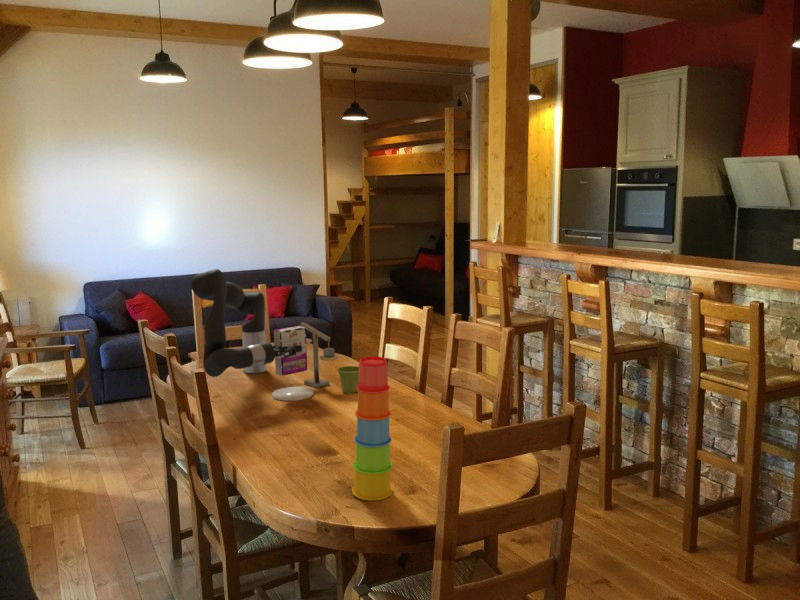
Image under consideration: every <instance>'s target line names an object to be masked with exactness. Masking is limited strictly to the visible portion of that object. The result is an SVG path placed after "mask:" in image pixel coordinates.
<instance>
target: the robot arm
mask: <svg viewBox="0 0 800 600" xmlns="http://www.w3.org/2000/svg"><path fill="white" fill-rule="evenodd" d="M190 286H191V289H192V291H193V293H194V295H195V296H196V297H197V298H199V299H200V300H204V301H212V302H213V304H212V306H211V308H210V310H209V312H208V315H207V317H206V319H205V321H204V327H203V333H204V344H205V345H204V350H203V359H202V363H203V364H202V365H203V369H204V371H205V373H206V374H207V375H208V376H209V377H213V378H217V377H219V376H221V375H222V374H223V373H224V372H225V371H226V370H227V369H228V368H231V367H232V368H233V369H234V370H235V369H237V370H241V369H242V371H243V372H244V373H246V374H261V373H264V372H266V371H267V365H268V364H271V363H272V362H274V361H275V357H276V358H278V357H281V356H284V358H286V357H290V356H293V355H296V352H301V351H302V346H301V345H298V346H292V347H287V346H283V347H280V346H276V345H274V343H270V342H267V341H266V332H265V330H266V329H265V325H266V324H265V321H266V317H265V316H266V312H265V311H266V306H265V305H266V304H265V303H266V301H265V295H264V294H263V293H262V292H257V291H252V292H250V291H247V292H244V289H243V288H242V287H241V286H239V285H238V284H236V283H234V282H230V281H227V280H226V277H225V275H224V273H223V272H222V271H221V270H220V269H217V268H214V269H211V270H207V271H205V272H201V273H199V274H195V275H194V276H193V277H192V279H191V283H190ZM226 307H227V308H231V309H234V310H235V311H237V313H239V314H242V315H246V316H247V315H248V316H249V315H253V319H252V320H250V321H248V322H247V321H246V322H244V323H243V324H242V325H241V335H242V336H241V338H242V347H239V348H231V347H230V348H227V347H226V345H227V335H226V322H225V319H226V317H225V316H226V314H225V313H226ZM284 348H285V350H284Z"/></svg>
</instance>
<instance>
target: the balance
mask: <svg viewBox="0 0 800 600" xmlns="http://www.w3.org/2000/svg"><path fill="white" fill-rule="evenodd" d="M299 326H301V327H305V328H306V330H307V331H308V332H310V333H312V339H311V338H306V344H310V343H312V354H313V355H312V357H313V378H309V379H306V380H304V381H303V383H304V386H305V385H306V386H310V387H312V388H316V389H318V388H319V389H320V388H322V387H323V388H324V387H326V386H330V380H327V379H323V378H320V364H319V363H320V360H322V361H335V360H338V359H339V355H337V354H335V351H336V350H335V348H333V347H330V341H331V337H330V336H328V335H326V334H325V333H323V332H321V331H320V330H318V329H316V328H315V327H313V326H312V325H310V324H308V323H306V322H303V321H302V322H300V325H299ZM319 338H321V339H322V340H324V341H326V342H327V348H323V349H322V351H323V352H322V353H323V354H322V355H320V356H319ZM319 359H320V360H319Z"/></svg>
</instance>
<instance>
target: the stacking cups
mask: <svg viewBox="0 0 800 600" xmlns="http://www.w3.org/2000/svg"><path fill="white" fill-rule="evenodd" d="M358 367H359V382H358V385H357V387H356V388H357V390H358V392H357V410H356V411H355V414H354V415H355V416H356V436H354V442H355V461H353V463H352V468H353V469H354V486H352V488H351V493H352V495H353V497H355V498H357V499H359V500H363V501H368V502H369V501H370V502H371V501H372V502H373V501H381V500H384V499H385V500H386V499H387V498H389V497H391V496H392V494H393V492H394V489H393V487H392V486H391V469H392V468H393V462H391V455H390V454H391V450H390V449H391V448H390V447H391V442H392V437H391V435H390V416H391V415H392V412H391V410H390V409H389V390H390V388H391V387H390V385H389V384H388V382H389V381H388V379H389V378H388V374H389V373H388V372H389V371H388V361H387V360H386V358H385V357H383V356H376V355H375V356H371V355H370V356H365V357H362V358H360V360H359V362H358Z"/></svg>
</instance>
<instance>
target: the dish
mask: <svg viewBox="0 0 800 600" xmlns="http://www.w3.org/2000/svg"><path fill="white" fill-rule="evenodd" d="M271 395H272V397H271V398H273V399H274V400H276V399H278V400H277V401H281V400H282V401H283V402H295V401H296V402H297V401H303V400H307V399H309V398H311V397H313V395H314V390H313V389H312V388H310V387H306V386H305V387H304V386H288V387H281V388H278V389H276V390H273V391H272V393H271Z"/></svg>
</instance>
